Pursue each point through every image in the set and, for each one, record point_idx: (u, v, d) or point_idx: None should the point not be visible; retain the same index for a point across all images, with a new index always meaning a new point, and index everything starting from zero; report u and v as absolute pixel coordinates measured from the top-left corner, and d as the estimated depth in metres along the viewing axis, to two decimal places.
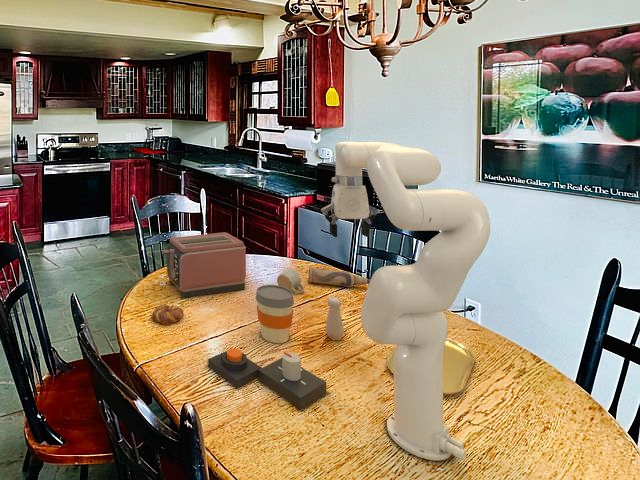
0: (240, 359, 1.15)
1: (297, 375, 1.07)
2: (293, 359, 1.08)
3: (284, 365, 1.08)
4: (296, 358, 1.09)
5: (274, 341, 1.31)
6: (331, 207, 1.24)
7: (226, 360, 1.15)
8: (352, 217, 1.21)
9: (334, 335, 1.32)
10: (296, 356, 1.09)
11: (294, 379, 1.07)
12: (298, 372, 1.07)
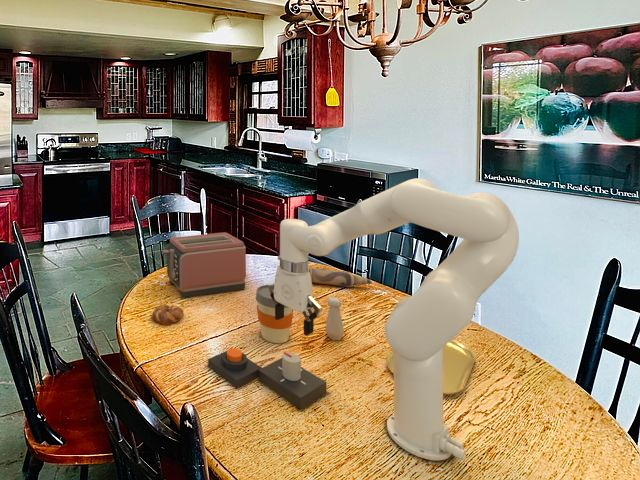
0: (240, 359, 1.15)
1: (297, 375, 1.07)
2: (293, 359, 1.08)
3: (284, 365, 1.08)
4: (296, 358, 1.09)
5: (274, 341, 1.31)
6: None
7: (226, 360, 1.15)
8: (286, 305, 1.09)
9: (334, 335, 1.32)
10: (296, 356, 1.09)
11: (294, 379, 1.07)
12: (298, 372, 1.07)
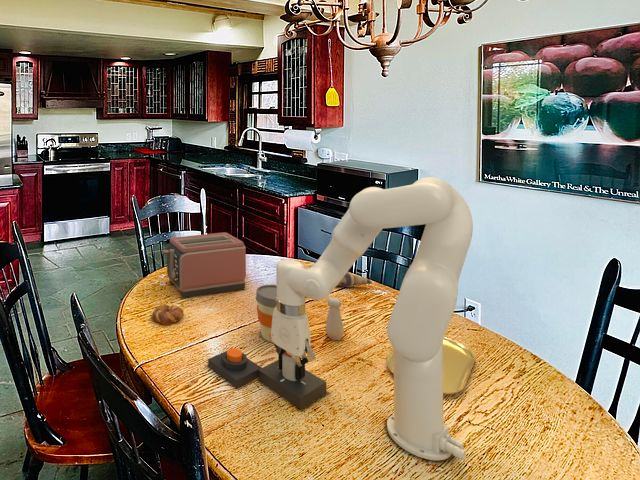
0: (240, 359, 1.15)
1: None
2: (293, 359, 1.08)
3: (284, 365, 1.08)
4: None
5: None
6: None
7: (226, 360, 1.15)
8: (283, 348, 1.08)
9: (334, 335, 1.32)
10: None
11: (294, 379, 1.07)
12: None
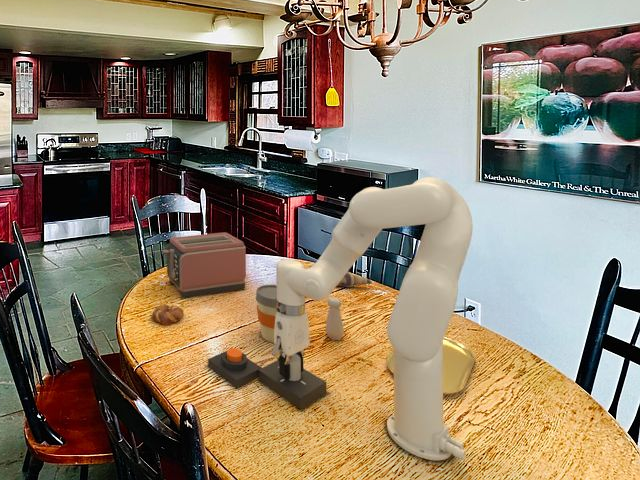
0: (240, 359, 1.15)
1: None
2: (294, 356, 1.10)
3: (297, 368, 1.07)
4: None
5: None
6: (280, 345, 1.06)
7: (226, 360, 1.15)
8: (298, 350, 1.07)
9: (334, 335, 1.32)
10: None
11: None
12: None
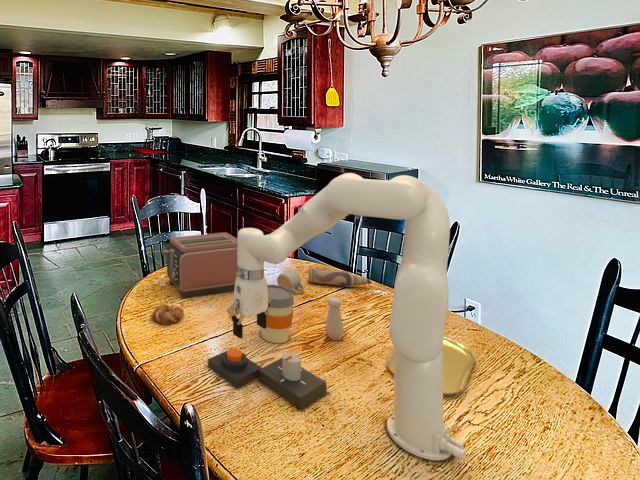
0: (240, 359, 1.15)
1: None
2: (294, 356, 1.10)
3: (297, 368, 1.07)
4: (292, 354, 1.10)
5: (274, 341, 1.31)
6: (237, 306, 1.11)
7: (226, 360, 1.15)
8: (256, 313, 1.12)
9: (334, 335, 1.32)
10: (288, 354, 1.11)
11: None
12: None
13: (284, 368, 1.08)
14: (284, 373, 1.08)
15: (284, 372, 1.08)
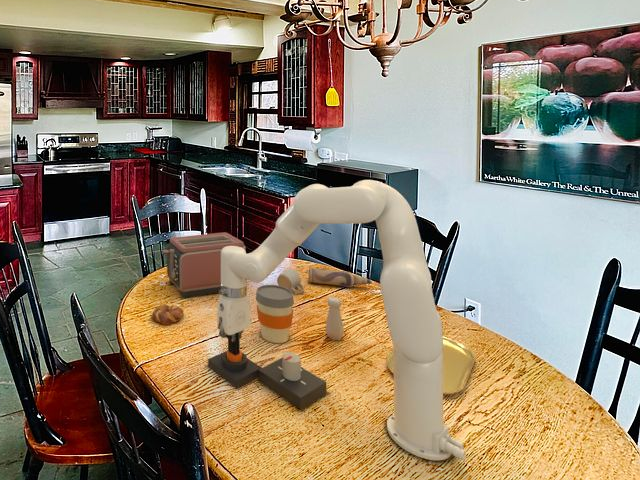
0: (240, 359, 1.15)
1: None
2: (294, 356, 1.10)
3: (297, 368, 1.07)
4: (292, 354, 1.10)
5: (274, 341, 1.31)
6: None
7: (226, 360, 1.15)
8: (239, 330, 1.14)
9: (334, 335, 1.32)
10: (288, 354, 1.11)
11: None
12: None
13: (284, 368, 1.08)
14: (284, 373, 1.08)
15: (284, 372, 1.08)
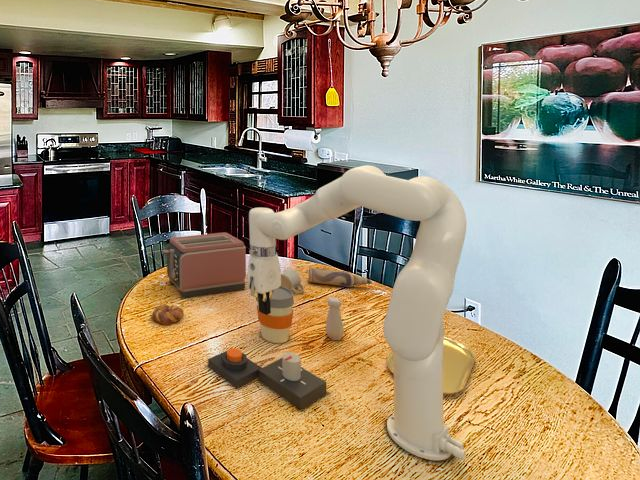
0: (240, 359, 1.15)
1: None
2: (294, 356, 1.10)
3: (297, 368, 1.07)
4: (292, 354, 1.10)
5: (274, 341, 1.31)
6: None
7: (226, 360, 1.15)
8: (270, 289, 1.15)
9: (334, 335, 1.32)
10: (288, 354, 1.11)
11: None
12: None
13: (284, 368, 1.08)
14: (284, 373, 1.08)
15: (284, 372, 1.08)
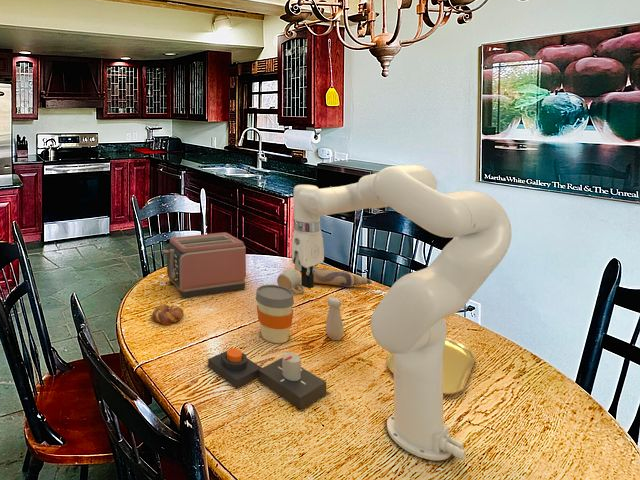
0: (240, 359, 1.15)
1: None
2: (294, 356, 1.10)
3: (297, 368, 1.07)
4: (292, 354, 1.10)
5: (274, 341, 1.31)
6: None
7: (226, 360, 1.15)
8: (314, 264, 1.18)
9: (334, 335, 1.32)
10: (288, 354, 1.11)
11: None
12: None
13: (284, 368, 1.08)
14: (284, 373, 1.08)
15: (284, 372, 1.08)
